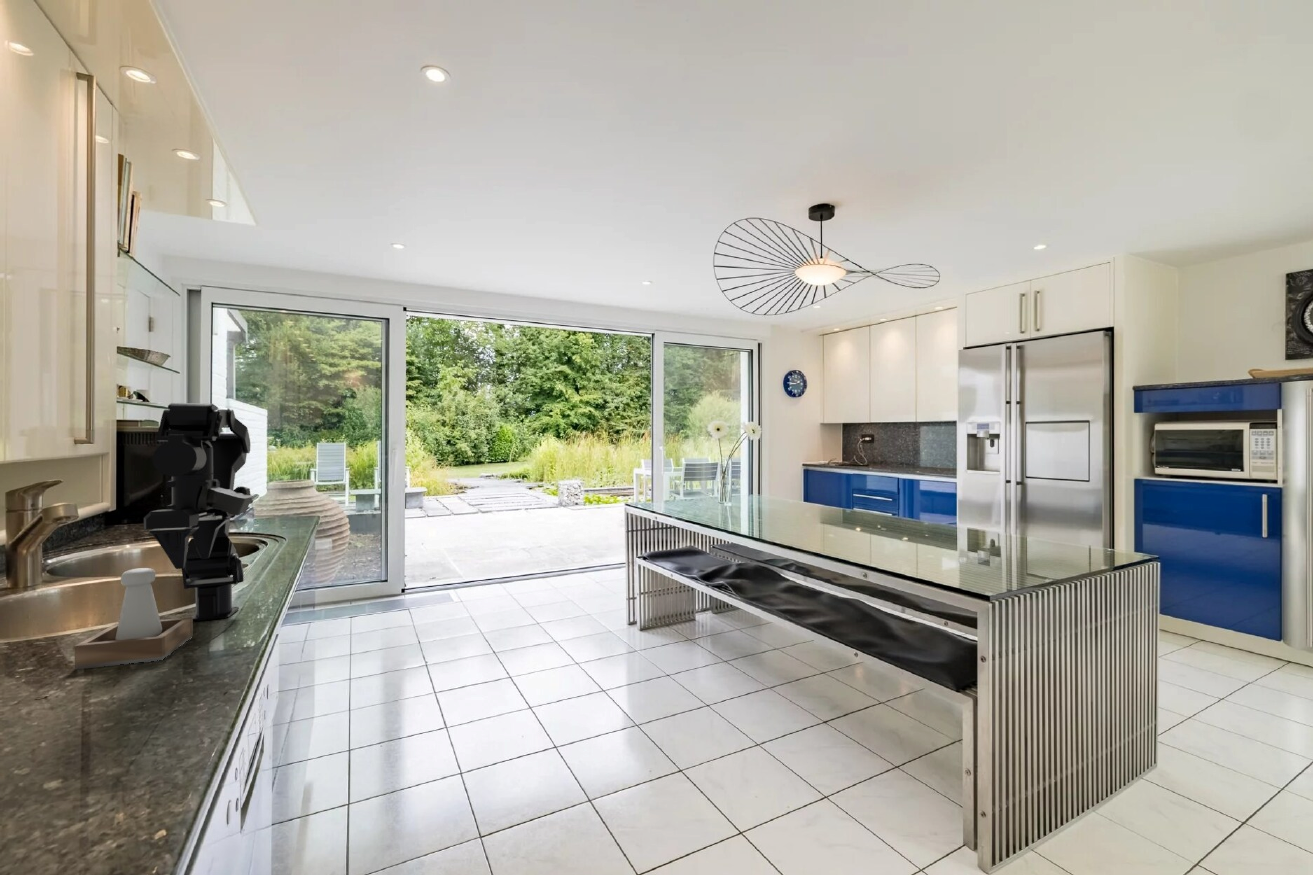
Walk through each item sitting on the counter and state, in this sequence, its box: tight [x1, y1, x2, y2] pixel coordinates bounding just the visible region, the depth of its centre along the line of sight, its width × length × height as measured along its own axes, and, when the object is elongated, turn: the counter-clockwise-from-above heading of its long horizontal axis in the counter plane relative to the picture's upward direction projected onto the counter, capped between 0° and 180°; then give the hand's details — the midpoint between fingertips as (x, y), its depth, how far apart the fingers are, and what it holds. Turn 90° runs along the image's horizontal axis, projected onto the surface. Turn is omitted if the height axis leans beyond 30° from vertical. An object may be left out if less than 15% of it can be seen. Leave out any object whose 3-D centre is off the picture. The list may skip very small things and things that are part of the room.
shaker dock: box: [74, 616, 194, 670], centre depth 96 cm, size 11×11×4 cm
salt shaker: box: [115, 567, 162, 640], centre depth 97 cm, size 6×6×13 cm
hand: (193, 563), depth 103 cm, fingers open, 9 cm apart
